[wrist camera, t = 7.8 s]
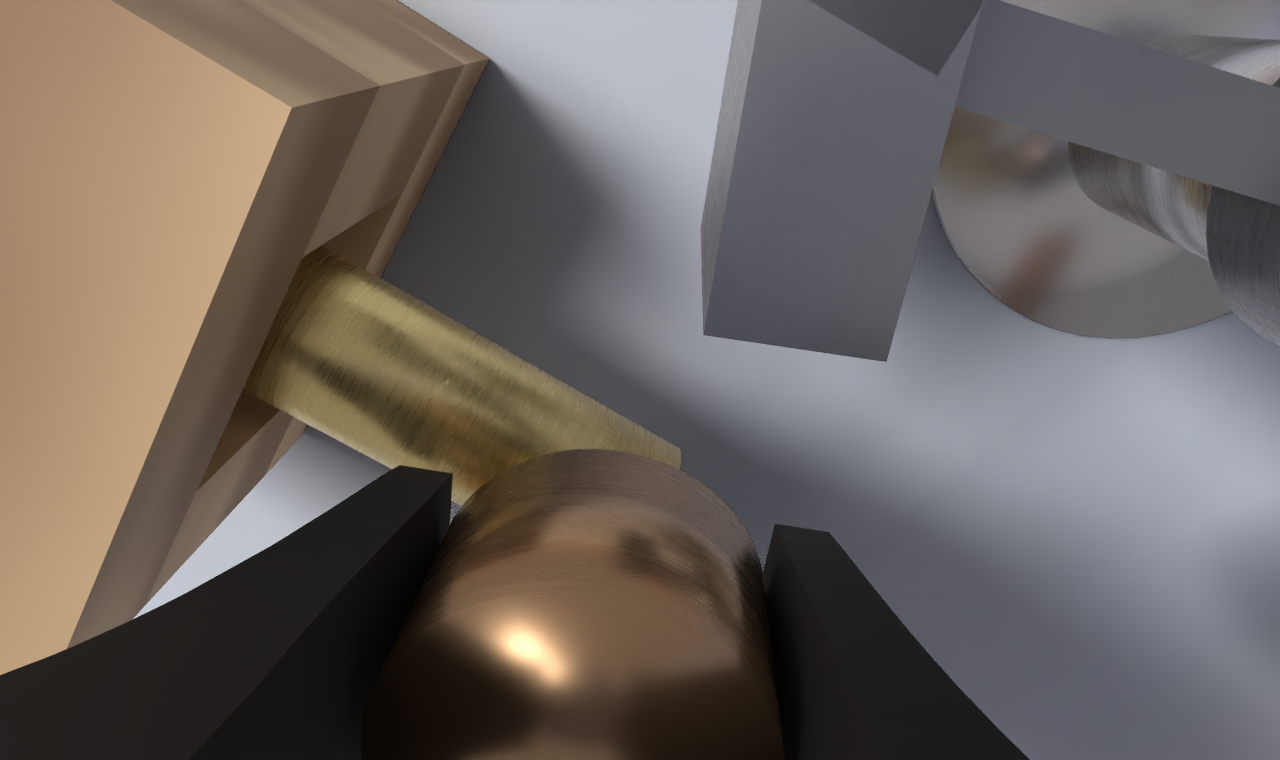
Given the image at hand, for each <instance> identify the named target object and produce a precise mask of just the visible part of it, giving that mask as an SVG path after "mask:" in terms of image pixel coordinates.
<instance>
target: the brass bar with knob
mask: <svg viewBox="0 0 1280 760" xmlns="http://www.w3.org/2000/svg"><path fill="white" fill-rule="evenodd" d="M243 390H244V391H246V392H248V393H249V394H251V395H253V396H255V397H257V398H259V399H261V400H263V401H265V402H266V403H268V404H270V405H272V406H274V407H276V408H278V409H280V410H281V411H283V412H285V413H287V414H289V415H291V416H293V417H295V418H296V419H298V420H300V421H302V422H304V423H306V424H308V425H310V426H311V427H313V428H315V429H317V430H319V431H321V432H323V433H325V434H327V435H328V436H330V437H332V438H334V439H336V440H338V441H340V442H342V443H343V444H345V445H347V446H349V447H351V448H353V449H355V450H357V451H358V452H360V453H362V454H364V455H366V456H368V457H370V458H372V459H373V460H375V461H377V462H379V463H381V464H383V465H385V466H387V467H389V468H390V469H394V468H396V467H397V466H399V465H403V466H409V467H415V468H422V469H428V470H434V471H441V472H447V473H453V480H452V495H451V501H452V502H454V503H456V504H458V505H460V506H462V507H461V508H460V510H459V511H458V512H457V514H456V515H455V516H454V518H453V520H452V522H451V524H450V526H449V528H448V530H447V532H446V534H445V536H444V538H443V540H442V542H441V545H440V547H439V549H438V551H437V553H436V555H435V557H434V559H433V561H432V563H431V566H430V568H429V570H428V572H427V574H426V576H425V578H424V580H423V582H422V585H421V587H420V589H419V591H418V593H417V595H416V597H415V599H414V601H413V603H412V606H411V608H410V610H409V612H408V614H407V616H406V618H405V620H404V622H403V625H402V627H401V629H400V631H399V633H398V635H397V637H396V639H395V641H394V644H393V646H392V648H391V650H390V652H389V654H388V656H387V658H386V660H385V662H384V665H383V667H382V669H381V671H380V673H379V675H378V677H377V679H376V681H375V684H374V686H373V688H372V690H371V692H370V694H369V697H368V700H367V703H366V707H365V710H364V713H363V718H362V727H361V735H360V738H361V756H362V760H785V756H784V748H783V739H782V731H781V722H780V714H779V705H778V697H777V689H776V680H775V672H774V663H773V655H772V646H771V638H770V630H769V621H768V613H767V604H766V596H765V587H764V580H763V573H762V567H761V564H760V560H759V557H758V554H757V551H756V548H755V546H754V544H753V542H752V540H751V538H750V536H749V534H748V532H747V530H746V529H745V527H744V526H743V524H742V523H741V521H740V520H739V518H738V517H737V515H736V514H735V513H734V512H733V511H732V510H731V509H730V508H729V507H728V505H727V504H726V503H725V502H724V501H723V500H722V499H721V498H720V497H719V496H717V495H716V494H715V493H714V492H713V491H711V490H710V489H709V488H708V487H707V486H706V485H704V484H702V483H701V482H699V481H698V480H696V479H695V478H693V477H692V476H690V475H689V474H687V473H685V472H683V471H681V470H680V466H681V458H682V457H681V450H680V449H679V448H678V447H676V446H674V445H673V444H671V443H669V442H667V441H666V440H664V439H662V438H660V437H659V436H657V435H655V434H653V433H652V432H650V431H648V430H646V429H645V428H643V427H641V426H639V425H638V424H636V423H634V422H632V421H630V420H629V419H627V418H625V417H623V416H622V415H620V414H618V413H616V412H615V411H613V410H611V409H609V408H608V407H606V406H604V405H602V404H601V403H599V402H597V401H595V400H594V399H592V398H590V397H588V396H587V395H585V394H583V393H581V392H580V391H578V390H576V389H574V388H573V387H571V386H569V385H567V384H566V383H564V382H562V381H560V380H558V379H557V378H555V377H553V376H551V375H550V374H548V373H546V372H544V371H543V370H541V369H539V368H537V367H536V366H534V365H532V364H530V363H529V362H527V361H525V360H523V359H522V358H520V357H518V356H516V355H515V354H513V353H511V352H509V351H508V350H506V349H504V348H502V347H501V346H499V345H497V344H495V343H493V342H492V341H490V340H488V339H486V338H485V337H483V336H481V335H479V334H478V333H476V332H474V331H472V330H471V329H469V328H467V327H465V326H464V325H462V324H460V323H458V322H457V321H455V320H453V319H451V318H450V317H448V316H446V315H444V314H443V313H441V312H439V311H437V310H436V309H434V308H432V307H430V306H429V305H427V304H425V303H423V302H421V301H420V300H418V299H416V298H414V297H413V296H411V295H409V294H407V293H406V292H404V291H402V290H400V289H399V288H397V287H395V286H393V285H392V284H390V283H388V282H386V281H385V280H383V279H381V278H379V277H378V276H376V275H374V274H372V273H371V272H369V271H367V270H365V269H364V268H362V267H360V266H358V265H357V264H355V263H353V262H351V261H349V260H348V259H346V258H344V257H342V256H341V255H339V254H337V253H335V252H334V251H332V250H330V249H328V248H327V247H325V246H323V245H321V246H319V247H318V248H316V249H315V250H313V251H312V252H310V253H308V254H307V255H305V256H304V257H302V260H301V262H300V264H299V266H298V268H297V271H296V273H295V275H294V277H293V279H292V282H291V284H290V286H289V288H288V291H287V293H286V295H285V297H284V299H283V302H282V304H281V306H280V308H279V310H278V313H277V315H276V317H275V319H274V321H273V324H272V326H271V328H270V330H269V332H268V335H267V337H266V339H265V341H264V343H263V346H262V348H261V350H260V352H259V355H258V357H257V359H256V361H255V363H254V366H253V368H252V370H251V372H250V374H249V377H248V379H247V381H246V383H245V385H244V388H243Z"/></svg>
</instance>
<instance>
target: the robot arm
mask: <svg viewBox="0 0 1280 760" xmlns="http://www.w3.org/2000/svg"><path fill="white" fill-rule="evenodd" d="M452 480H453V473H447V472H441V471H434V470H428V469H422V468H415V467H409V466H403V465H399V466H397V467H396V468H394V469H392V470H390V471H389V472H387V473H386V474H384V475H382V476H381V477H379V478H378V479H376V480H375V481H373V482H371V483H370V484H368V485H367V486H365V487H364V488H362V489H361V490H359V491H358V492H356V493H355V494H353V495H351V496H350V497H348V498H347V499H345V500H344V501H342V502H341V503H339V504H338V505H336V506H335V507H333V508H331V509H330V510H328V511H327V512H325V513H323V514H322V515H320V516H319V517H317V518H315V519H314V520H312V521H311V522H309V523H307V524H306V525H304V526H303V527H301V528H299V529H298V530H296V531H295V532H293V533H291V534H290V535H288V536H286V537H285V538H283V539H282V540H280V541H278V542H277V543H275V544H273V545H272V546H270V547H268V548H267V549H265V550H263V551H261V552H259V553H258V554H256V555H254V556H252V557H250V558H249V559H247V560H245V561H243V562H241V563H240V564H238V565H236V566H234V567H232V568H231V569H229V570H227V571H225V572H223V573H222V574H220V575H218V576H216V577H214V578H213V579H211V580H209V581H207V582H205V583H204V584H202V585H200V586H198V587H196V588H195V589H193V590H191V591H189V592H187V593H185V594H184V595H182V596H180V597H178V598H176V599H174V600H172V601H170V602H168V603H166V604H164V605H162V606H160V607H158V608H156V609H154V610H151V611H149V612H147V613H145V614H143V615H141V616H139V617H137V618H135V619H133V620H131V621H128V622H126V623H124V624H122V625H120V626H117V627H115V628H113V629H111V630H108V631H106V632H104V633H102V634H100V635H97V636H95V637H93V638H91V639H88V640H86V641H84V642H82V643H79V644H77V645H75V646H73V647H70V648H68V649H66V650H63V651H61V652H58V653H56V654H54V655H51V656H49V657H46V658H44V659H41V660H38V661H36V662H33V663H31V664H28V665H25V666H23V667H20V668H17V669H15V670H12V671H10V672H7V673H4V674H2V675H0V760H362V756H361V738H360V735H361V727H362V718H363V713H364V710H365V707H366V703H367V700H368V697H369V694H370V692H371V690H372V688H373V686H374V684H375V681H376V679H377V677H378V675H379V673H380V671H381V669H382V667H383V665H384V662H385V660H386V658H387V656H388V654H389V652H390V650H391V648H392V646H393V644H394V641H395V639H396V637H397V635H398V633H399V631H400V629H401V627H402V625H403V622H404V620H405V618H406V616H407V614H408V612H409V610H410V608H411V606H412V603H413V601H414V599H415V597H416V595H417V593H418V591H419V589H420V587H421V585H422V582H423V580H424V578H425V576H426V574H427V572H428V570H429V568H430V566H431V563H432V561H433V559H434V557H435V555H436V553H437V551H438V549H439V547H440V545H441V542H442V540H443V538H444V536H445V534H446V532H447V530H448V528H449V525H450V510H451V495H452ZM763 580H764V587H765V596H766V604H767V613H768V621H769V630H770V638H771V646H772V655H773V663H774V672H775V680H776V689H777V697H778V705H779V714H780V722H781V731H782V739H783V748H784V756H785V760H1030V759H1029V758H1028V757H1027V756H1025V755H1024V754H1023V753H1022V752H1021V751H1020V750H1019V749H1018V748H1017V747H1016V746H1015V745H1014V744H1013V743H1012V742H1011V741H1010V740H1009V739H1008V738H1007V737H1006V736H1005V735H1004V734H1003V733H1002V732H1001V731H1000V730H999V729H998V728H997V727H996V726H995V725H994V724H993V723H992V722H991V721H990V720H989V719H988V718H987V717H986V715H985V714H984V713H983V712H982V711H981V710H980V709H979V708H978V707H977V706H976V705H975V704H974V703H973V702H972V701H971V700H970V699H969V698H968V697H967V696H966V695H965V693H964V692H963V691H962V690H961V689H960V688H959V687H958V686H957V685H956V684H955V683H954V682H953V681H952V680H951V678H950V677H949V676H948V675H947V674H946V673H945V672H944V671H943V670H942V668H941V667H940V666H939V665H938V664H937V663H936V662H935V661H934V660H933V658H932V657H931V656H930V655H929V654H928V653H927V652H926V650H925V649H924V648H923V647H922V646H921V645H920V643H919V642H918V641H917V640H916V639H915V638H914V636H913V635H912V634H911V633H910V632H909V630H908V629H907V628H906V627H905V626H904V625H903V623H902V622H901V621H900V620H899V619H898V617H897V616H896V615H895V614H894V612H893V611H892V610H891V609H890V608H889V606H888V605H887V604H886V603H885V601H884V600H883V599H882V598H881V596H880V595H879V594H878V593H877V591H876V590H875V589H874V588H873V586H872V585H871V584H870V583H869V581H868V580H867V579H866V578H865V576H864V575H863V574H862V573H861V571H860V570H859V569H858V568H857V566H856V565H855V564H854V563H853V561H852V560H851V559H850V557H849V556H848V555H847V554H846V552H845V551H844V550H843V549H842V547H841V546H840V545H839V544H838V543H837V541H836V540H835V539H834V538H833V537H832V535H831V534H830V533H829V532H824V531H817V530H811V529H804V528H798V527H792V526H785V525H779V524H775V526H774V530H773V535H772V539H771V543H770V547H769V551H768V555H767V559H766V563H765V567H764V571H763Z"/></svg>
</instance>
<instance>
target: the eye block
mask: <svg viewBox="0 0 1280 760" xmlns="http://www.w3.org/2000/svg"><path fill="white" fill-rule="evenodd" d="M489 59H490V58H488V57H487V56H485V55H483V54H482V53H480V52H479V51H477V50H475V49H474V48H472V47H471V46H469V45H467V44H466V43H464V42H463V41H461V40H460V39H458V38H456V37H455V36H453V35H452V34H450V33H448V32H447V31H445V30H444V29H442V28H440V27H439V26H437V25H436V24H434V23H432V22H431V21H429V20H428V19H426V18H424V17H423V16H421V15H420V14H418V13H416V12H415V11H413V10H412V9H410V8H409V7H407V6H405V5H404V4H402V3H401V2H399V1H397V0H0V675H2V674H4V673H7V672H10V671H12V670H15V669H17V668H20V667H23V666H25V665H28V664H31V663H33V662H36V661H38V660H41V659H44V658H46V657H49V656H51V655H54V654H56V653H58V652H61V651H63V650H66V649H68V648H70V647H73V646H75V645H77V644H79V643H82V642H84V641H86V640H88V639H91V638H93V637H95V636H97V635H100V634H102V633H104V632H106V631H108V630H111V629H113V628H115V627H117V626H120V625H122V624H124V623H126V622H128V621H131V620H132V619H133V618H134V617H135V616H136V615H137V614H138V613H139V611H140V610H141V609H142V608H143V607H144V606H145V605H146V604H147V603H148V602H149V601H150V599H151V598H152V597H153V596H154V595H155V594H156V593H157V592H158V591H159V590H160V589H161V588H162V586H163V585H164V584H165V583H166V582H167V581H168V580H169V579H170V578H171V577H172V576H173V574H174V573H175V572H176V571H177V570H178V569H179V568H180V567H181V566H182V565H183V564H184V563H185V561H186V560H187V559H188V558H189V557H190V556H191V555H192V554H193V553H194V552H195V551H196V549H197V548H198V547H199V546H200V545H201V544H202V543H203V542H204V541H205V540H206V539H207V538H208V536H209V535H210V534H211V533H212V532H213V531H214V530H215V529H216V528H217V527H218V526H219V524H220V523H221V522H222V521H223V520H224V519H225V518H226V517H227V516H228V515H229V514H230V513H231V511H232V510H233V509H234V508H235V507H236V506H237V505H238V504H239V503H240V502H241V501H242V500H243V498H244V497H245V496H246V495H247V494H248V493H249V492H250V491H251V490H252V489H253V488H254V486H255V485H256V484H257V483H258V482H259V481H260V480H261V479H262V478H263V477H264V476H265V475H266V473H267V472H268V471H269V470H270V469H271V468H272V467H273V466H274V465H275V464H276V463H277V461H278V460H279V459H280V458H281V457H282V456H283V455H284V454H285V453H286V452H287V451H288V450H289V448H290V447H291V446H292V445H293V444H294V443H295V442H296V441H297V440H298V439H299V438H300V436H301V435H302V434H303V432H304V430H305V428H306V426H307V424H306V423H304V422H302V421H300V420H298V419H296V418H295V417H293V416H291V415H289V414H287V413H285V412H283V411H281V410H280V409H278V408H276V407H274V406H272V405H270V404H268V403H266V402H265V401H263V400H261V399H259V398H257V397H255V396H253V395H251V394H249V393H248V392H246V391H244V390H243V388H244V385H245V383H246V381H247V379H248V377H249V374H250V372H251V370H252V368H253V366H254V363H255V361H256V359H257V357H258V355H259V352H260V350H261V348H262V346H263V343H264V341H265V339H266V337H267V335H268V332H269V330H270V328H271V326H272V324H273V321H274V319H275V317H276V315H277V313H278V310H279V308H280V306H281V304H282V302H283V299H284V297H285V295H286V293H287V291H288V288H289V286H290V284H291V282H292V279H293V277H294V275H295V273H296V271H297V268H298V266H299V264H300V262H301V260H302V257H304V256H305V255H307V254H308V253H310V252H312V251H313V250H315V249H316V248H318V247H319V246H321V245H323V246H325V247H327V248H328V249H330V250H332V251H334V252H335V253H337V254H339V255H341V256H342V257H344V258H346V259H348V260H349V261H351V262H353V263H355V264H357V265H358V266H360V267H362V268H364V269H365V270H367V271H369V272H371V273H372V274H374V275H376V276H378V277H379V278H381V276H382V274H383V272H384V270H385V268H386V266H387V264H388V261H389V259H390V257H391V255H392V253H393V251H394V249H395V247H396V245H397V243H398V241H399V239H400V237H401V235H402V233H403V231H404V229H405V227H406V225H407V223H408V221H409V219H410V217H411V215H412V213H413V211H414V209H415V207H416V205H417V203H418V201H419V199H420V197H421V195H422V193H423V191H424V189H425V187H426V185H427V183H428V181H429V179H430V177H431V175H432V173H433V171H434V169H435V167H436V165H437V163H438V161H439V159H440V157H441V155H442V153H443V151H444V149H445V147H446V145H447V143H448V141H449V139H450V137H451V135H452V133H453V131H454V129H455V127H456V125H457V123H458V121H459V119H460V117H461V115H462V113H463V111H464V109H465V107H466V105H467V103H468V101H469V99H470V97H471V95H472V93H473V91H474V89H475V87H476V85H477V83H478V81H479V79H480V77H481V75H482V73H483V71H484V69H485V67H486V65H487V63H488V61H489Z"/></svg>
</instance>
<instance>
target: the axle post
mask: <svg viewBox="0 0 1280 760" xmlns="http://www.w3.org/2000/svg"><path fill="white" fill-rule="evenodd" d="M1000 1H1003V2H1007V3H1010V4H1013V5H1016V6H1019V7H1023V8H1026V9H1029V10H1032V11H1035V12H1038V13H1042V14H1045V15H1048V16H1051V17H1054V18H1058V19H1061V20H1064V21H1067V22H1070V23H1074V24H1077V25H1080V26H1083V27H1086V28H1090V29H1093V30H1096V31H1099V32H1102V33H1106V34H1109V35H1112V36H1115V37H1118V38H1122V39H1125V40H1128V41H1131V42H1134V43H1138V44H1141V45H1144V46H1147V47H1150V48H1154V49H1157V50H1160V51H1163V52H1166V53H1170V54H1173V55H1176V56H1179V57H1182V58H1186V59H1189V60H1192V61H1195V62H1198V63H1202V64H1205V65H1208V66H1211V67H1214V68H1217V69H1221V70H1224V71H1227V72H1230V73H1233V74H1237V75H1240V76H1243V77H1246V78H1249V79H1253V80H1256V81H1259V82H1262V83H1265V84H1269V85H1273V84H1274V83H1275V82H1276V81H1277V80H1278V79H1279V78H1280V0H1000ZM1212 187H1213V185H1210V184H1207V183H1203V182H1200V181H1197V180H1194V179H1190V178H1187V177H1184V176H1180V175H1177V174H1174V173H1171V172H1167V171H1164V170H1161V169H1157V168H1154V167H1151V166H1148V165H1144V164H1141V163H1138V162H1135V161H1131V160H1128V159H1125V158H1121V157H1118V156H1115V155H1112V154H1108V153H1105V152H1102V151H1098V150H1095V149H1092V148H1089V147H1085V146H1082V145H1079V144H1075V143H1072V142H1069V141H1066V140H1062V139H1059V138H1056V137H1053V136H1049V135H1046V134H1043V133H1039V132H1036V131H1033V130H1030V129H1026V128H1023V127H1020V126H1016V125H1013V124H1010V123H1007V122H1003V121H1000V120H997V119H993V118H990V117H987V116H984V115H980V114H977V113H974V112H971V111H967V110H964V109H961V108H957V107H954V111H953V115H952V118H951V122H950V126H949V130H948V133H947V137H946V141H945V145H944V148H943V152H942V156H941V159H940V163H939V167H938V171H937V174H936V178H935V182H934V186H933V189H932V195H933V201H934V205H935V208H936V211H937V214H938V217H939V220H940V223H941V225H942V228H943V230H944V232H945V234H946V236H947V238H948V240H949V242H950V244H951V246H952V248H953V250H954V251H955V253H956V254H957V255H958V257H959V258H960V260H961V261H962V262H963V264H964V265H965V266H966V268H967V269H968V271H969V272H970V273H971V274H972V275H973V276H974V277H975V278H976V279H977V280H978V281H979V282H980V283H981V284H982V285H983V286H984V287H985V288H986V289H987V290H988V291H989V292H990V293H991V294H993V295H994V296H995V297H997V298H998V299H999V300H1001V301H1002V302H1003V303H1004V304H1006V305H1007V306H1008V307H1010V308H1011V309H1013V310H1015V311H1016V312H1018V313H1020V314H1022V315H1024V316H1026V317H1027V318H1029V319H1031V320H1033V321H1035V322H1038V323H1041V324H1043V325H1046V326H1049V327H1051V328H1054V329H1057V330H1061V331H1065V332H1069V333H1074V334H1078V335H1082V336H1092V337H1102V338H1137V337H1145V336H1152V335H1159V334H1165V333H1169V332H1173V331H1177V330H1181V329H1185V328H1189V327H1193V326H1196V325H1198V324H1201V323H1204V322H1207V321H1209V320H1212V319H1215V318H1218V317H1220V316H1222V315H1224V314H1226V313H1228V312H1231V311H1232V310H1231V308H1230V307H1229V305H1228V304H1227V302H1226V301H1225V299H1224V298H1223V296H1222V295H1221V293H1220V291H1219V288H1218V286H1217V284H1216V282H1215V279H1214V277H1213V274H1212V270H1211V266H1210V262H1209V258H1208V252H1207V241H1206V224H1207V211H1208V205H1209V200H1210V195H1211V190H1212Z"/></svg>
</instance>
